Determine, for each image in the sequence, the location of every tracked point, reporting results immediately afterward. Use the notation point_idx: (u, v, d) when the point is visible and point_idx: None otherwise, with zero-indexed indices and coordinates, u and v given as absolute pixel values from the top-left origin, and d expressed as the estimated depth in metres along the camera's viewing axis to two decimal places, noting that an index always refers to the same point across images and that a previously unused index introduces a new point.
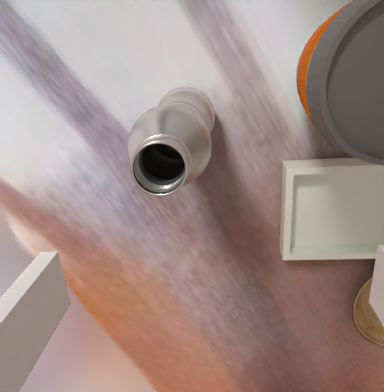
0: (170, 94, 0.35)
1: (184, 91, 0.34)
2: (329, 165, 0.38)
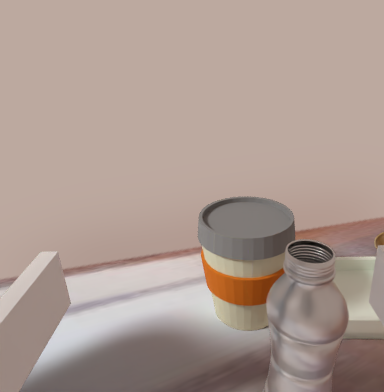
0: None
1: (265, 387, 0.33)
2: None
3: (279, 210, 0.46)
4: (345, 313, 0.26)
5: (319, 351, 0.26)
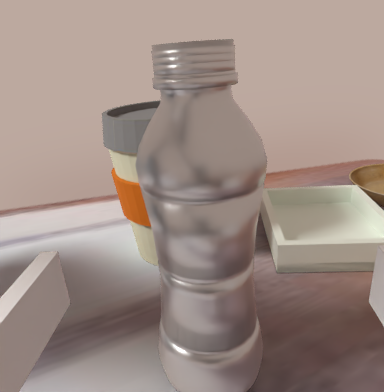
0: (161, 336, 0.20)
1: (161, 317, 0.22)
2: (270, 225, 0.36)
3: None
4: (254, 150, 0.15)
5: (210, 218, 0.15)
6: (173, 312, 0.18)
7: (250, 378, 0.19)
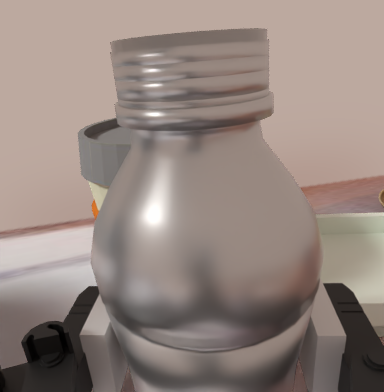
0: None
1: None
2: None
3: None
4: (308, 242, 0.08)
5: (223, 372, 0.08)
6: None
7: None
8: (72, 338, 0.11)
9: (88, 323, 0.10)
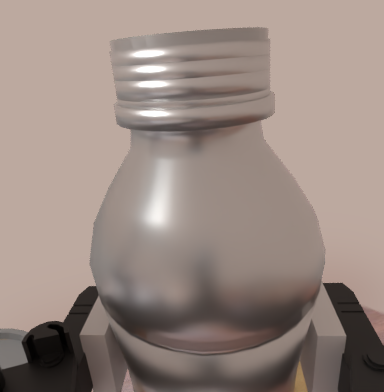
0: None
1: None
2: None
3: None
4: (309, 243, 0.08)
5: (223, 375, 0.08)
6: None
7: None
8: (72, 338, 0.11)
9: (88, 323, 0.10)
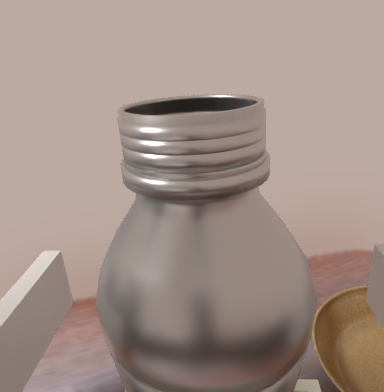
0: None
1: None
2: None
3: None
4: (301, 297, 0.08)
5: None
6: None
7: None
8: None
9: None
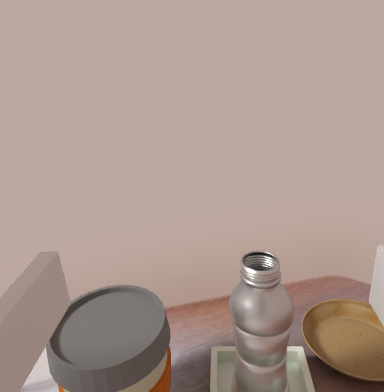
0: (235, 388, 0.38)
1: (233, 376, 0.39)
2: None
3: (156, 309, 0.37)
4: (289, 311, 0.32)
5: (269, 342, 0.32)
6: (245, 378, 0.36)
7: None
8: None
9: None
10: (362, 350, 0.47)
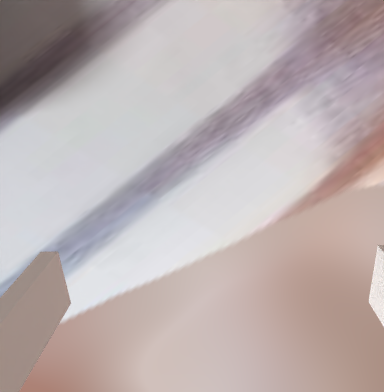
0: None
1: None
2: None
3: None
4: None
5: None
6: None
7: None
8: None
9: None
10: None
